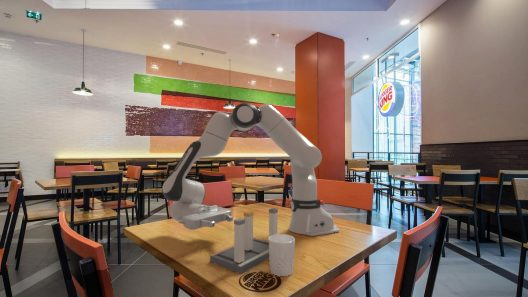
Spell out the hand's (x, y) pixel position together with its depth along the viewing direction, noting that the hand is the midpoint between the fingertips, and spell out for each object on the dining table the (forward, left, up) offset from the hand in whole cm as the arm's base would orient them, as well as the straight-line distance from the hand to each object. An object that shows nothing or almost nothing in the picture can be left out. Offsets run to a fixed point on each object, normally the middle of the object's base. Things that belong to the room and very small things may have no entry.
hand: (222, 221), depth 97 cm
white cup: (-16, +22, -10) cm, 29 cm away
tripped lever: (-8, +9, -7) cm, 14 cm away
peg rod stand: (-8, +9, -10) cm, 16 cm away
